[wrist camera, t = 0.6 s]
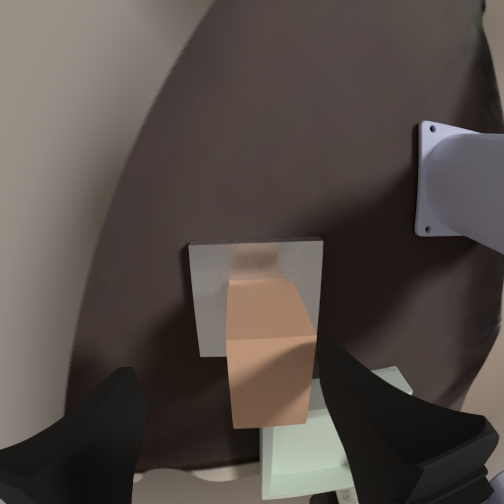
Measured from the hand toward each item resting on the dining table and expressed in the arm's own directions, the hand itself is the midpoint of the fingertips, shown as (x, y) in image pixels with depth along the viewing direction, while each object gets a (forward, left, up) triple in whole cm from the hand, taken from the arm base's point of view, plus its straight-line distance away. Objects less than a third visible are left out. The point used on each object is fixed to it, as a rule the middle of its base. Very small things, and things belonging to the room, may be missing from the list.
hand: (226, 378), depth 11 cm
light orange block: (-2, +1, -8) cm, 9 cm away
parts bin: (-8, +16, -9) cm, 20 cm away
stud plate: (-2, +1, -9) cm, 10 cm away
